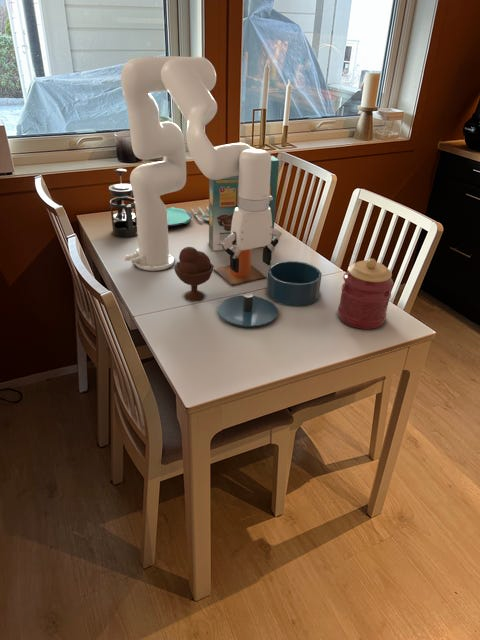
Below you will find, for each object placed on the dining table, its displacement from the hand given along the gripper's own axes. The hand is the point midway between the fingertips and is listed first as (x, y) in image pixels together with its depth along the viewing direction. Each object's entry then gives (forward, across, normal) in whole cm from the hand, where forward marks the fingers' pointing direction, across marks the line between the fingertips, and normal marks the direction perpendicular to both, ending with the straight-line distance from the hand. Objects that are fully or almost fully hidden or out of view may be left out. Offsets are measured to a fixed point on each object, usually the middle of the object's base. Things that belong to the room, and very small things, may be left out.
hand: (250, 267), depth 132 cm
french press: (+13, +11, -69) cm, 72 cm away
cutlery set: (+13, -12, -74) cm, 77 cm away
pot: (+14, -18, -4) cm, 23 cm away
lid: (+14, 0, 0) cm, 14 cm away
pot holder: (+14, -10, -22) cm, 28 cm away
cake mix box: (+14, -22, -42) cm, 50 cm away
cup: (+13, -10, -22) cm, 28 cm away
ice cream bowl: (+14, +9, -15) cm, 23 cm away
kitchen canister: (+14, -27, +16) cm, 34 cm away
